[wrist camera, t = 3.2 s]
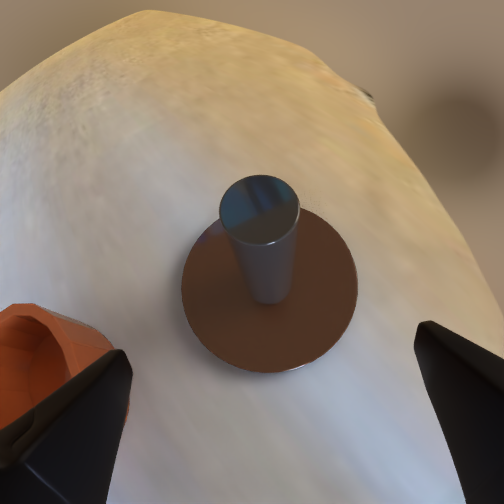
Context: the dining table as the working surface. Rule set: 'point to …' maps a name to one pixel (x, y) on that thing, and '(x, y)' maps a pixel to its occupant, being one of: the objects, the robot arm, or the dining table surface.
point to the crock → (41, 355)
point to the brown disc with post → (268, 280)
